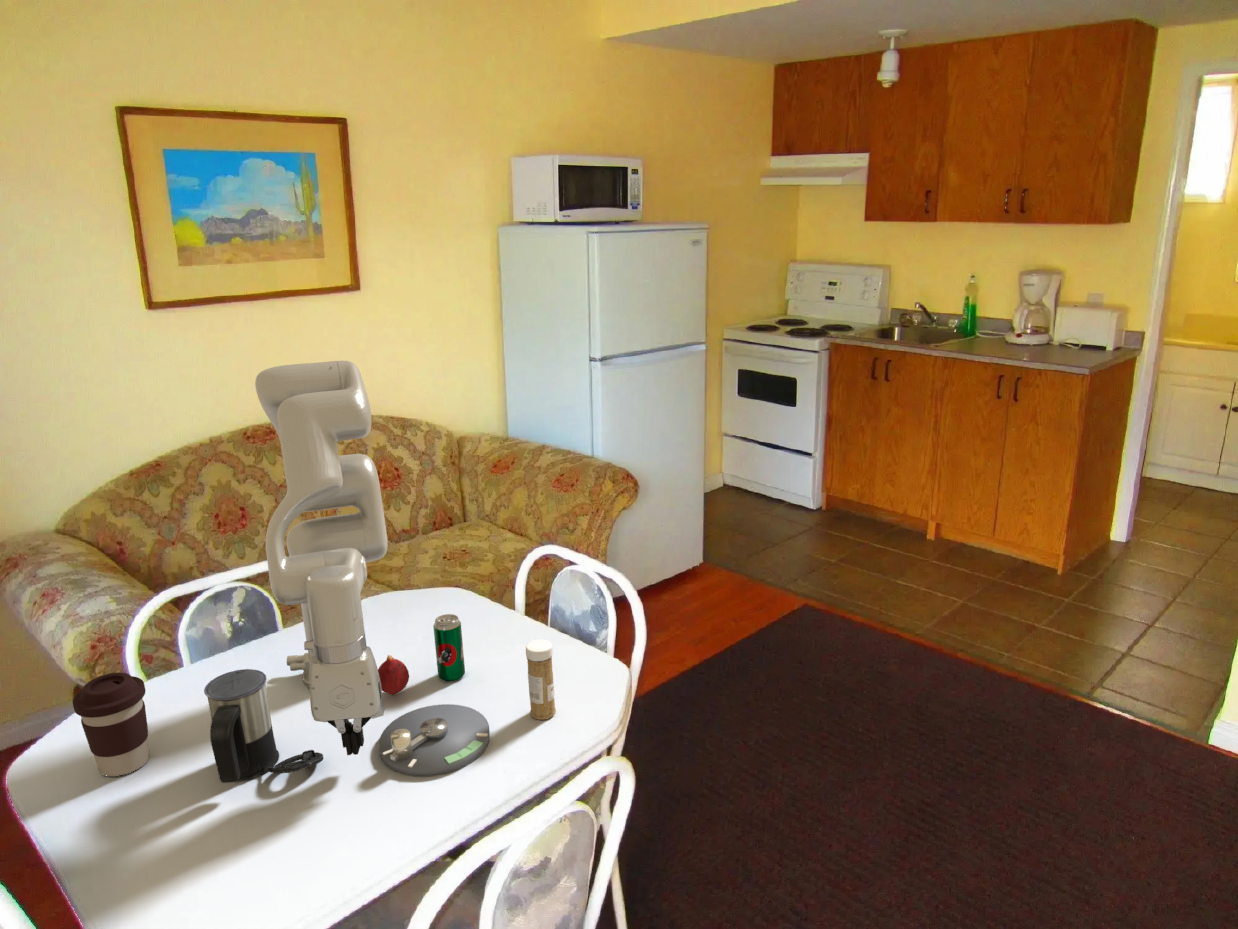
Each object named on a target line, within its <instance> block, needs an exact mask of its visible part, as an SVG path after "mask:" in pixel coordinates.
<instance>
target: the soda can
mask: <svg viewBox="0 0 1238 929" xmlns="http://www.w3.org/2000/svg"><path fill="white" fill-rule="evenodd" d="M433 635H434V636H433V637H434V648H435V657H436V666H437V677H438V678H439V679H440V680H441V681H443V682H447V683H450V682H451V683H452V682H453V683H454V682H456V681H459V680H461V679H462V678H463V677H464V676H465V674H466V668H465V667H466V666H465V657H464V656H465V655H464V644H463V633H462V622H461V621H460V619H459V616H458V615H456V614H452V613H450V614H449V613H446V614H442V615H438V616H437V617H436V618H435V620H434V624H433Z"/></svg>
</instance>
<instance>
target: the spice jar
mask: <svg viewBox="0 0 1238 929" xmlns="http://www.w3.org/2000/svg"><path fill="white" fill-rule="evenodd" d="M553 654H554V652H553V643H551V642H550V641H549V640H546V639H534V640H531V641H530V642H528V643H527V644H526V646H525V657H526V660H527V679H528V694H529V703H530V704H529V705H530V711H529V713H530V716H531V717H532V718H534V719H535V720H539V721H541V720H542V721H543V720H544V721H545V720H548V719H551V718H552V717H553V716H555V714H556V712H557V711H556V710H557V709H556V704H555V683H554V670H553V658H552V657H553Z"/></svg>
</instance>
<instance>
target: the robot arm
mask: <svg viewBox="0 0 1238 929" xmlns="http://www.w3.org/2000/svg"><path fill="white" fill-rule="evenodd" d="M254 381H255V391H256V392H255V393H256V395H257V397H258V398H257V399H258V401H259V403H260V405H261V407H262V409H263V411H264V413H265V415H266V416H267V418H268V420H269V421H270V423H271V424H272V426H273V428H274V430H275V432H276V434H277V436H278V438H279V442H280V448H281V455H282V461H283V462H282V463H283V469H284V470H283V471H284V476H285V482H286V488H287V491H286V494H285V496H284V498H283V499H282V500H281V502H280V503H279V504H278V506H277V507H276V509H275V511H274V512H273V514H272V515H271V518H270V521H269V523H268V525H267V529H266V536H265V553H266V561H267V562H266V563H267V569H268V576H269V583H270V588H271V591H272V595H273V597H274V599H275V600H276V601H277V602H278V603H279V604H281V605H286V606H294V605H300V608H301V613H302V620H303V628H304V633H305V641H303V642H304V643H303V648H304V651H307V652H304V654H303V655H302V654H301V655H297V654H296V655H295V654H294V655H292V654H291V655H288V656H287V657H286V665H287V667H289V670H290V671H291V672H292V671H293V672H294V671H303V672H302V681H303V684H305V686H306V687H308V688H309V702H310V704H309V705H310V711H311V712H310V713H311V715H312V718H313V721H314V722H317V723H318V722H321V723H328V724H329V725H331V726H333V728H335V729H336V731H337V732H338V733H339V734H340V735H341V743H342V748H343V749H344V748H345V749H346V750H345V751H346V756H352V755H358V754H359V752H360V749H361V747H364V743H365V738H364V729H363V727H364V726H365V725H366V724H367V723H369V721H370V720H371V719H373V720H374V719H377V718H379V717H380V718H381V717H383V716H384V714H385V711H386V708H385V706H384V703H383V701H382V699H383V691H382V688H381V682H380V677H379V673H378V669H379V668H378V666H377V663H376V659H375V656H374V654H373V651H372V648H371V647H370V646H368V645H367V639H366V631H365V622H364V615H363V608H362V607H363V606H362V600H361V592H362V590H363V587H364V583H365V582H366V581H367V578H368V566H367V563H370V562H377V561H378V560H380V559H382V558H384V557H385V555H386V554H387V551H388V535H387V527H386V526H387V525H386V521H385V520H386V518H385V513H384V506H383V498H382V492H381V491H382V490H381V485H380V479H379V475H378V470H377V467H376V464H375V463H374V460H372V458H371V457H370V456H368V455H367V454H363V453H353V454H352V453H350V454H343V455H342V454H341V455H339V450H338V442H341V441H342V442H343V441H349V440H352V441H353V440H357V439H358V440H359V439H363V438H366V437H367V436H368V435H369V434H370V432H371V429H372V411H371V406H370V405H371V404H370V401H369V396H368V393H367V391H366V387H365V384H364V381H363V377H362V373H361V371H360V369H359V367H358V366H357V365H356V364H355V363H354V362H352V361H349V360H331V361H319V362H309V363H308V362H305V363H295V364H285V365H278V366H273V367H269V368H266V369H264V370H261V371H260V372H259V373H258V374H257V375H256V377H255V380H254ZM348 507H354V508H356V509H357V510H358V511H357V512H351V513H346V514H345V513H344V514H339V515H335V514H334V515H328V516H323V517H316V518H311V519H306V520H303V521H300V522H298V523H295V524H294V525H293V526H292V527H290V525H291V524H292V523H293V522H294V520H296V519H297V518H298V517H299V516H300V515H302V514H303V513H304V512H309V513H310V512H319V511H326V510H327V511H328V510H333V509H339V508H340V509H342V508H348ZM289 527H290V529H289ZM288 529H289V530H288ZM287 531H288V533H287ZM286 534H287V535H286ZM285 539H286V548H287V551H288V556H287V555H286V551H285ZM350 720H353V722H352V721H350Z"/></svg>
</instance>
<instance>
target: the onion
mask: <svg viewBox="0 0 1238 929" xmlns="http://www.w3.org/2000/svg"><path fill="white" fill-rule="evenodd" d="M377 669H378V673H379V677H380V682H381V688H382V693H385V694H387V695H391V696H396V695H397V694H399V693H400V692H402V691H403V690H405V689H406V688H407V684H408V682H409V681H410V674H409V670H408V668H407V666H406V665H405V663H403V662H402V661H401V660H399V659H398V658H394V657H393V656H392V655H390V654H387V657H386V660H385V661H383V662H382V663H381V664H380V665H379V667H378V668H377Z"/></svg>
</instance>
